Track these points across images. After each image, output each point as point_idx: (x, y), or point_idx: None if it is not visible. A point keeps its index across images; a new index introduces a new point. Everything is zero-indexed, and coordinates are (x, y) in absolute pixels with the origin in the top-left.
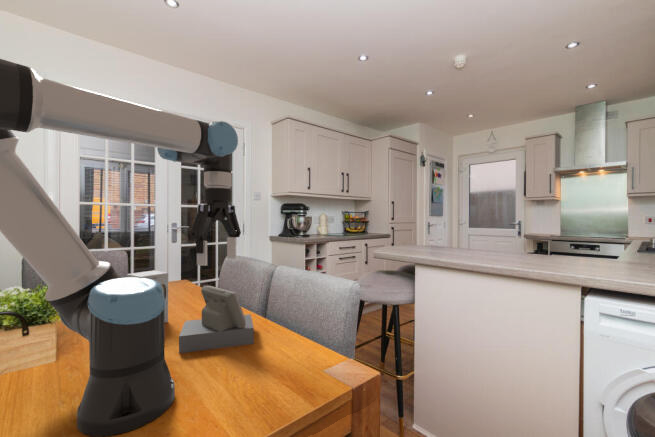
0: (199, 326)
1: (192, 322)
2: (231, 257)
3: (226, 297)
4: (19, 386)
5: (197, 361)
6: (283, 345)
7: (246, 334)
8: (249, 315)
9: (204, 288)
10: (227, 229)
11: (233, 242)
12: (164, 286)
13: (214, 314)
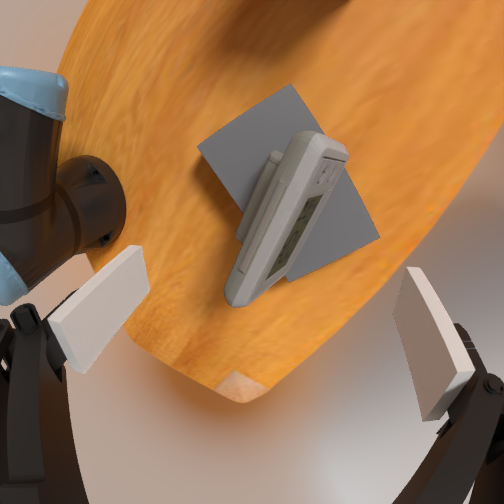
0: (263, 150)
1: (285, 111)
2: (399, 299)
3: (226, 282)
4: (80, 32)
5: (194, 201)
6: (295, 316)
7: None
8: (371, 238)
9: (288, 155)
10: (430, 465)
11: (419, 383)
12: None
13: (242, 217)
